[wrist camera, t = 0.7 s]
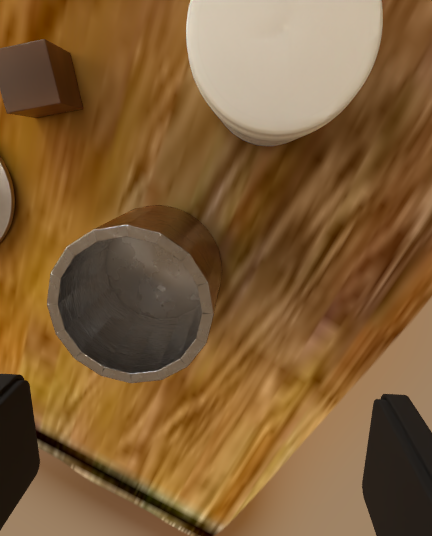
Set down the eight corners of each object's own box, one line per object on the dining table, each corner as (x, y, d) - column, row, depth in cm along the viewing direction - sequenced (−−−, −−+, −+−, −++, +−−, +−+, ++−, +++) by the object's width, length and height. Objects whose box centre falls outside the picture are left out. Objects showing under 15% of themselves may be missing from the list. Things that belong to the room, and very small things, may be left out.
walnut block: (21, 63, 34) (-12, 50, 30) (70, 52, 33) (44, 38, 29) (35, 117, 35) (6, 113, 31) (83, 108, 34) (60, 103, 30)
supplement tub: (338, 127, 33) (405, 109, 19) (228, 160, 35) (215, 166, 21) (313, -1, 31) (367, -128, 17) (196, 40, 32) (156, -46, 18)
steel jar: (87, 215, 37) (27, 239, 27) (210, 196, 36) (196, 214, 26) (115, 329, 40) (71, 389, 30) (230, 315, 39) (224, 373, 29)
